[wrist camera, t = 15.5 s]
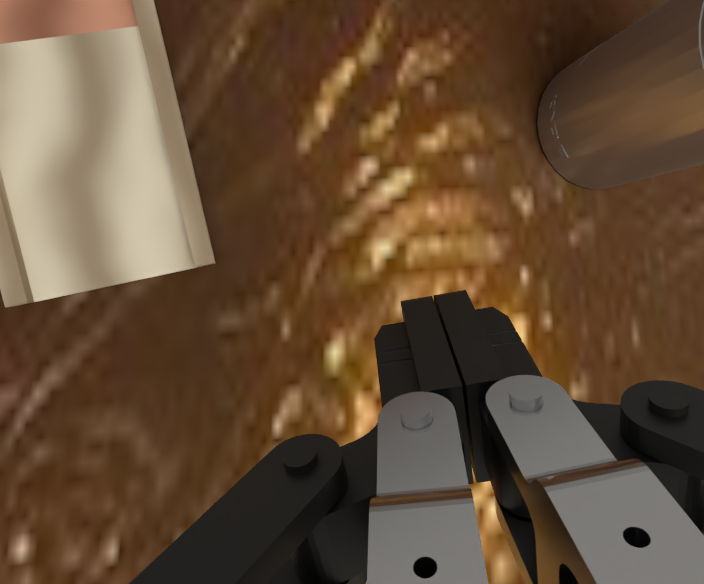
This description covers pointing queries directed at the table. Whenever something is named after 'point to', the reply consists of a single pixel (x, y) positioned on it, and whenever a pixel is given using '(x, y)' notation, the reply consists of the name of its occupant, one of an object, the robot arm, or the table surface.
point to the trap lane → (91, 151)
